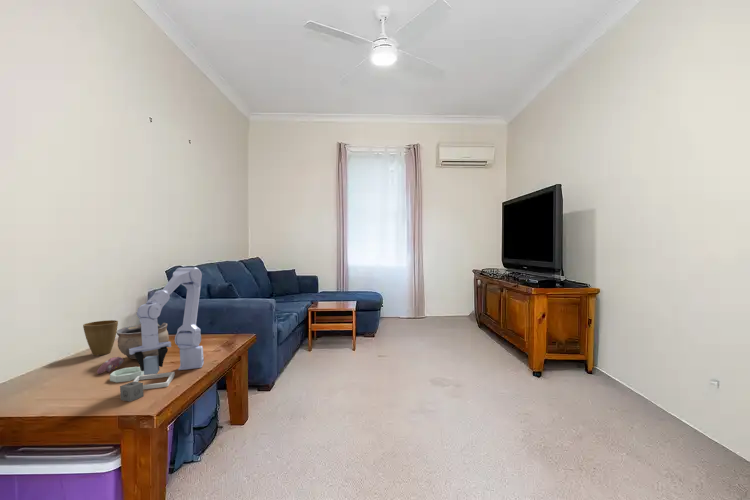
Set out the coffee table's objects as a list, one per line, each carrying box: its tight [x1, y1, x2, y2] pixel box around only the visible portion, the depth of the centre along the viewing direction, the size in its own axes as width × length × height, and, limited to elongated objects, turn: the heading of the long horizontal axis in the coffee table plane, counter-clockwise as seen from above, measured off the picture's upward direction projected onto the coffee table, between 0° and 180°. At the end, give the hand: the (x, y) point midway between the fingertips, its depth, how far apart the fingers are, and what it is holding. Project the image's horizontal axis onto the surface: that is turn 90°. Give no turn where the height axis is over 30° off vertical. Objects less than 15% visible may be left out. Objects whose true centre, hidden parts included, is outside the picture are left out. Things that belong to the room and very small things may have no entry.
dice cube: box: [119, 380, 144, 402], centre depth 144 cm, size 5×5×5 cm
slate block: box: [143, 354, 160, 375], centre depth 160 cm, size 4×4×6 cm
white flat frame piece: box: [133, 371, 176, 391], centre depth 160 cm, size 14×14×2 cm
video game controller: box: [96, 356, 125, 375], centre depth 178 cm, size 10×5×7 cm, turn 169°
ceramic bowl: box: [116, 322, 170, 360], centre depth 197 cm, size 22×22×15 cm
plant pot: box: [82, 319, 119, 357], centre depth 207 cm, size 15×15×16 cm
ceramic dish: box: [109, 366, 144, 383], centre depth 168 cm, size 11×11×2 cm
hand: (151, 368), depth 160 cm, fingers closed on slate block, 6 cm apart
